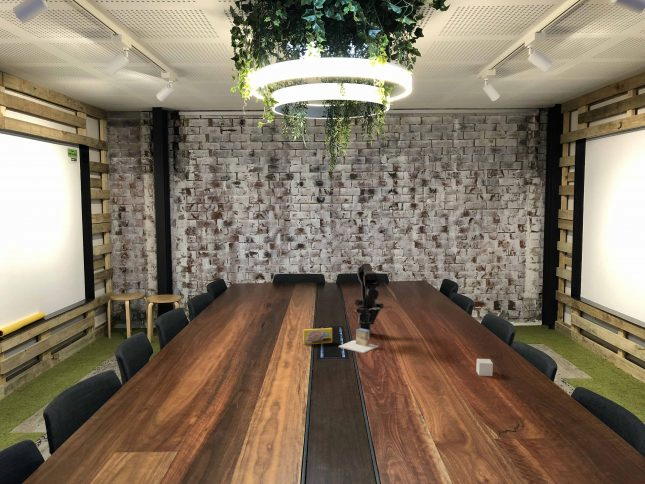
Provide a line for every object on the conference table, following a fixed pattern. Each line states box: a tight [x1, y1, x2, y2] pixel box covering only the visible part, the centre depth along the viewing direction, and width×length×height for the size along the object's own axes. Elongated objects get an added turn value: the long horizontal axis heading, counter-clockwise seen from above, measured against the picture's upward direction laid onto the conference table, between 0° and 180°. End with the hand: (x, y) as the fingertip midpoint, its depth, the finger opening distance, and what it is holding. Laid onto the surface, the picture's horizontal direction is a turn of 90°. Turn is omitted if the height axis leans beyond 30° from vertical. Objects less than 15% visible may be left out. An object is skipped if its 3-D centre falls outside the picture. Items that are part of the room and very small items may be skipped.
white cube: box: [475, 358, 494, 377], centre depth 231 cm, size 6×6×6 cm
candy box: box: [302, 327, 333, 346], centre depth 274 cm, size 16×2×8 cm, turn 105°
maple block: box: [355, 327, 370, 346], centre depth 271 cm, size 4×6×8 cm, turn 51°
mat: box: [338, 339, 379, 354], centre depth 268 cm, size 14×16×1 cm
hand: (369, 323), depth 276 cm, fingers open, 6 cm apart
